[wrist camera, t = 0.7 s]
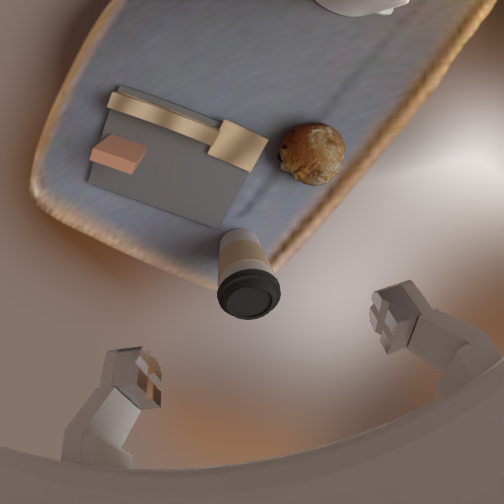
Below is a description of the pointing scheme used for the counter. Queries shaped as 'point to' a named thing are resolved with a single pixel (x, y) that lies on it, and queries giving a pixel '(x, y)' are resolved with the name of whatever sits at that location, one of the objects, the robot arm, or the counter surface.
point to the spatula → (197, 130)
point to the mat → (171, 167)
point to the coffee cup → (245, 277)
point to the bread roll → (312, 153)
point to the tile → (119, 153)
